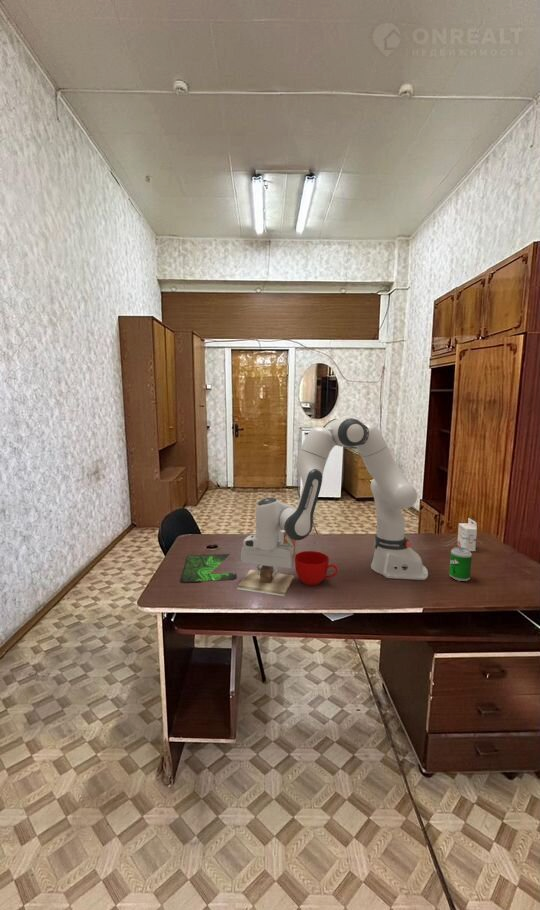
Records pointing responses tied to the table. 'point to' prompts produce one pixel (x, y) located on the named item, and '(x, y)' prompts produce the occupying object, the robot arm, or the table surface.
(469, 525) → the ink cartridge box
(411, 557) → the robot arm
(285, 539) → the small box
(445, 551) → the table surface
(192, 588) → the table surface
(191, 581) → the mouse mat
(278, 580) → the lid
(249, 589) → the mat
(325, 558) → the ceramic cup
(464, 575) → the soda can
